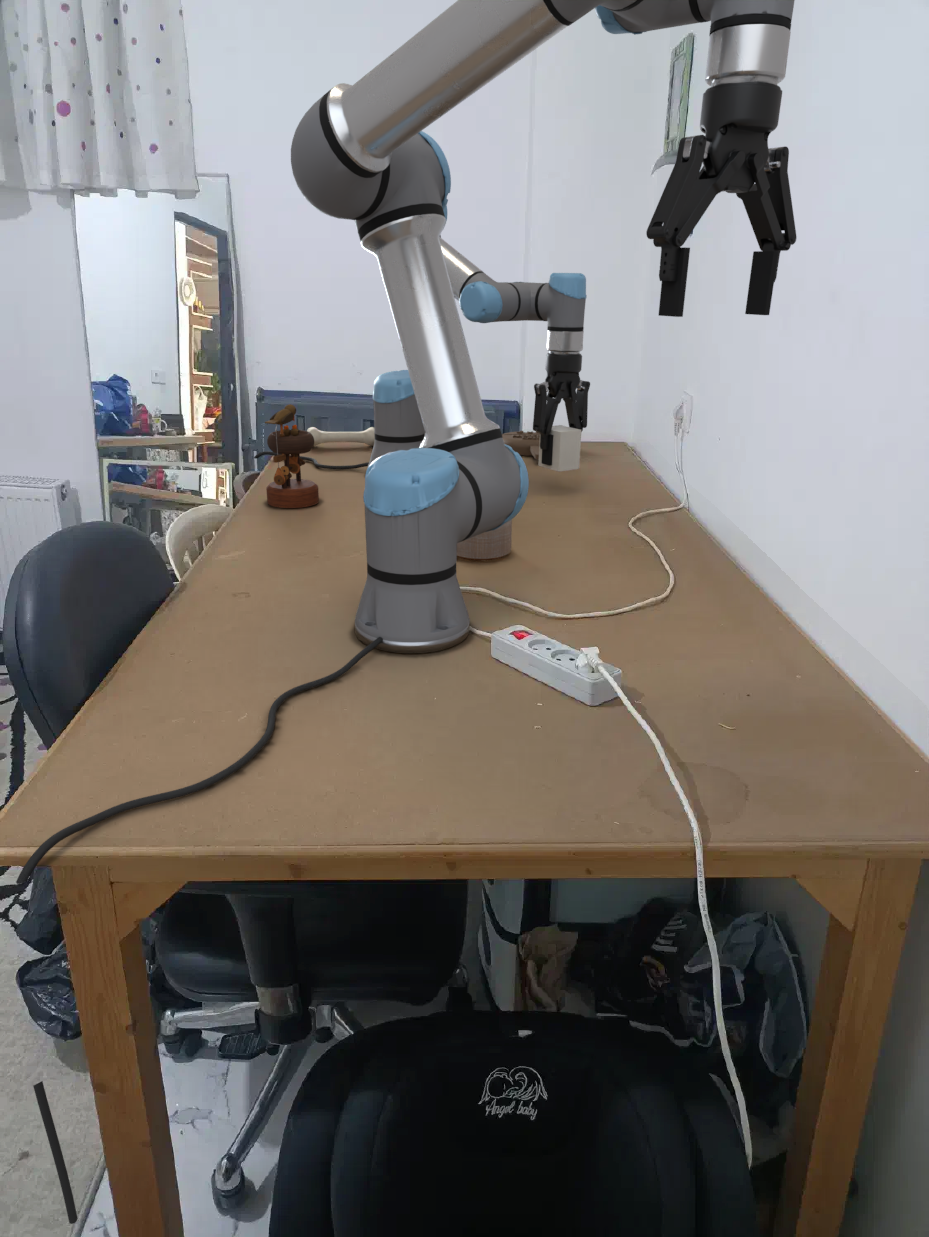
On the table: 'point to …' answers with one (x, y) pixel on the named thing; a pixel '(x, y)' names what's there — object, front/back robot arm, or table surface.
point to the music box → (290, 463)
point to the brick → (564, 449)
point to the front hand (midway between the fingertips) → (715, 315)
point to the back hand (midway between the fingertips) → (558, 462)
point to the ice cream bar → (523, 442)
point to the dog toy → (343, 436)
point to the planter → (487, 545)
